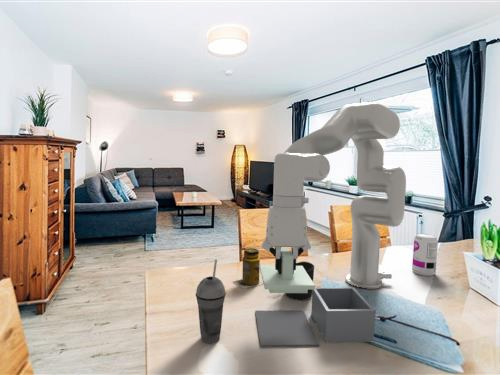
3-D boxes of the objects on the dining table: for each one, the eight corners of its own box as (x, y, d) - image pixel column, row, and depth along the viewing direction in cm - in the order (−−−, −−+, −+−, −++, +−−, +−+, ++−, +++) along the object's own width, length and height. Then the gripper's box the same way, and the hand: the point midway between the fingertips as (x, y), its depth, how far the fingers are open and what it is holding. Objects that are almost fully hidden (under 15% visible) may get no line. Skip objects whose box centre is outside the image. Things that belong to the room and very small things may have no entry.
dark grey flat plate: (303, 311, 93) (303, 310, 93) (319, 346, 76) (319, 344, 76) (255, 312, 92) (255, 310, 92) (260, 347, 75) (260, 345, 75)
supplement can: (413, 274, 125) (415, 237, 124) (411, 267, 133) (413, 232, 131) (436, 277, 122) (439, 239, 120) (433, 270, 130) (436, 234, 128)
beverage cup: (196, 331, 82) (196, 255, 80) (225, 330, 82) (226, 254, 81) (194, 348, 75) (194, 264, 73) (225, 347, 75) (226, 264, 73)
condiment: (264, 284, 113) (264, 251, 112) (243, 289, 108) (244, 254, 107) (252, 277, 119) (253, 246, 118) (233, 282, 114) (233, 249, 113)
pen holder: (306, 304, 98) (307, 272, 97) (279, 296, 103) (279, 266, 102) (317, 293, 106) (318, 264, 105) (291, 286, 111) (292, 258, 110)
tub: (352, 313, 93) (353, 287, 92) (373, 341, 79) (375, 310, 78) (311, 314, 92) (312, 287, 91) (325, 342, 78) (326, 311, 77)
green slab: (301, 274, 90) (303, 244, 89) (314, 295, 76) (316, 260, 76) (259, 274, 90) (260, 244, 89) (264, 295, 76) (265, 260, 75)
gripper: (315, 200, 85) (312, 267, 87) (255, 199, 84) (253, 267, 86) (323, 204, 78) (319, 278, 79) (257, 203, 77) (255, 278, 79)
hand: (285, 272), depth 83 cm, fingers closed on green slab, 2 cm apart
